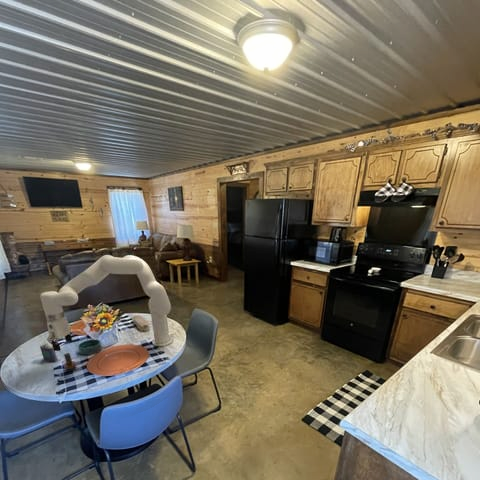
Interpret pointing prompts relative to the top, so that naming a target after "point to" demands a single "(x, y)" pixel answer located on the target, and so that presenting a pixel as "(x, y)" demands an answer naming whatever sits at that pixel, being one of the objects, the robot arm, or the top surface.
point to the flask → (48, 353)
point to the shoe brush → (141, 323)
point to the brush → (69, 363)
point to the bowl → (89, 347)
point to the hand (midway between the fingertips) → (63, 346)
